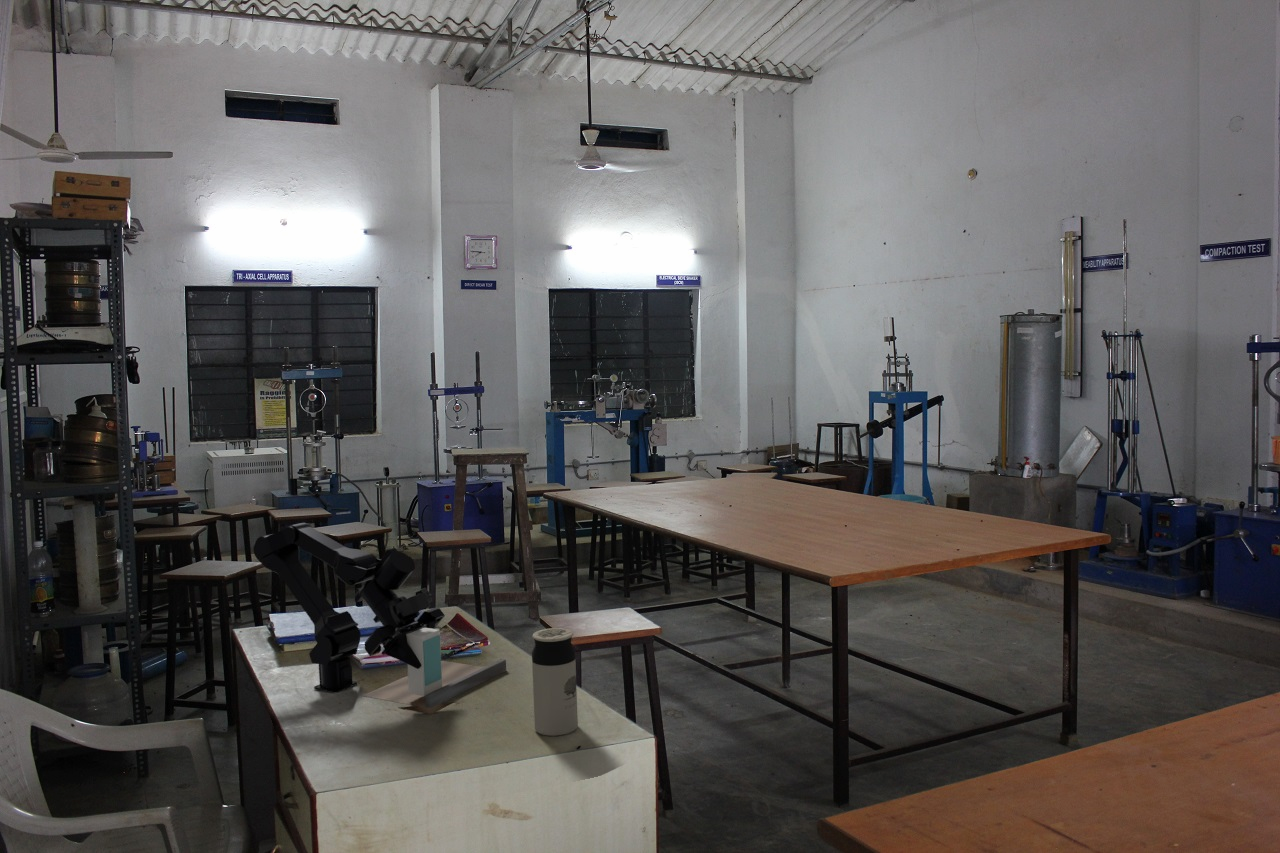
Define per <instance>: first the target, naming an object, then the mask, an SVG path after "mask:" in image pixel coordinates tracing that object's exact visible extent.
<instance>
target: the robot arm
mask: <svg viewBox="0 0 1280 853" xmlns="http://www.w3.org/2000/svg"><path fill="white" fill-rule="evenodd" d="M300 548H301V549H302V550H304V551H305V552H307V553H309V554H311V555H312V556H313V557H315V558H316V559H317V558H318V559H319V560H320V561H321V562H324V563H325V564H327V565H329V566H330V567H331V568H332V569H333V572H334V575H335V576H336V577H338V579H340V581H342V582H344V584H345V585H348V586H353V585H357V584H361V583H364V584H363V585H362V586H361V587H357V588H356V589H355V595H354V602H355V603H358V602H361V601H365V603H366V604H367V606H369V609H370V610H371V611H372V612H373V614H374V615H375V616H374V617H373V619H372V620H373V621H374V623H375V624H377V623H381V624H382V626H380V627H378V628H375V629H374V631H372V633H371V634H370V635H369V636H368V638H367V639H366V641H365V642H364V651H365V652H366V653H367V655H369V657H372V656H374V655H375V656H376V655H377V654H379V653H380V652H381V653H380V654H382V656H384V655H386V656H389V657H390V658H393V659H396V660H398V661H400V662H403V663H405V664H406V665H407V664H409V665H411V666H413V667H415V668H417V669H419V668H420V667H421V663H420V661H419V660H418V658H417V656H416V655H415V653H414V652H413V650H412V649H411V647H410V646H409V645H408V643H407V637H406V634H409V633H412V632H414V631H417V630H420V629H422V628H431V629H436V627H437V626H438V625H439V624H440V622H442V620H443V619H444V618H445V617H446V614H444V612H443V611H442V609H441V608H439V607H433V608H431V607H432V605H431V603H432V602H433V595H432V593H431V592H430V591H429V590H428V589H427V588H426V587H424V588H421V589H419V590H417V591H416V592H415V595H412V596H410V597H409V598H407V597H405V596H400V597H399V596H398V594H397V593H396V592H395V590H399V589H400V588H401V587H402V585H403V584H404V583H405V582H406V581H407V579H408V578H409V576H411V574H412V573H413V572H414V571H415V569H416V563H415V561H414V560H413V558H412V557H411V556H409V555H408V554H406V553H404V552H401V551H399V550H397V548H395V547H392V548H388V549H386V550H385V552H384V553H383V556H382V557H381V559H380V558H377V557H376V555H374V553H371V552H369V551H365V550H363V549H359V548H358V549H357V548H349V547H347V546H344V545H343V544H341V543H339V542H338V541H336V540H335V539H332V538H330V537H329V536H327V535H326V534H323V533H322V532H321V531H318V530H317V529H315V528H314V527H312V526H311V524H310V523H308V522H307V523H306V522H301V523H300V522H299V523H295V524H290V525H288V526H287V527H285V528H284V529H282V530H279V531H277V532H275V533H272V534H271V533H270V534H267V535H262V536H259V537H258V538H256V540H255V542H254V545H253V554H254V556H255V558H256V559H257V560H258V562H259V563H260V564H262V566H263V567H264V568H265V569H267V570H269V571H271V572H273V573H276V574H277V575H279V577H280V578H281V579H282V581H283V582H284V583H285V586H286V587H287V588H288V589H289V591H290V592H291V593H292V595H293V597H294V598H295V600H296V601H297V602H298V604H299V605H300V607H301V608H302V609H303V611H304V612H305V614H306V615H307V616H308V617H309V619H310V620H311V622H312V623H313V626H314V627H313V628H314V630H313V631H314V639H315V641H316V644H315V645H314V647H312V649H311V650H310V652H309V653H308V654H309V657H310V661H311V663H312V664H315V665H316V664H318V676H319V677H318V678H319V679H318V680H319V684H317V685H314V687H313V689H314V690H317V691H323V692H329V693H332V694H333V693H338V692H341V691H344V690H345V689H348V688H350V687H352V686H355V685H357V684H358V681H357V680H353V665H352V662H351V656H354V655H357V653H358V649H359V644H360V642H361V635H362V633H361V631H360V629H359V627H358V626H359V623H358V622H357V621H355V620H354V618H353V617H352V615H351V613H350V612H349V611H347V610H346V611H341V612H338V611H336V610H335V609H334V608H333V606H332V605H331V603H330V602H329V601H328V599H327V597H326V596H325V595H324V593H323V592H322V590H320V588H319V586H318V585H317V584H316V583H315V581H314V580H313V578H312V577H311V576H310V574H309V573H308V572H307V570H306V568H305V567H304V565H303V564H302V563H301V561H300ZM430 608H431V609H430ZM425 609H428V610H425ZM423 610H424V611H423ZM420 611H423V612H422V614H421V615H420ZM419 615H420V616H419ZM416 618H418V619H417V620H416ZM381 645H382V646H381ZM382 647H383V650H382Z"/></svg>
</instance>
